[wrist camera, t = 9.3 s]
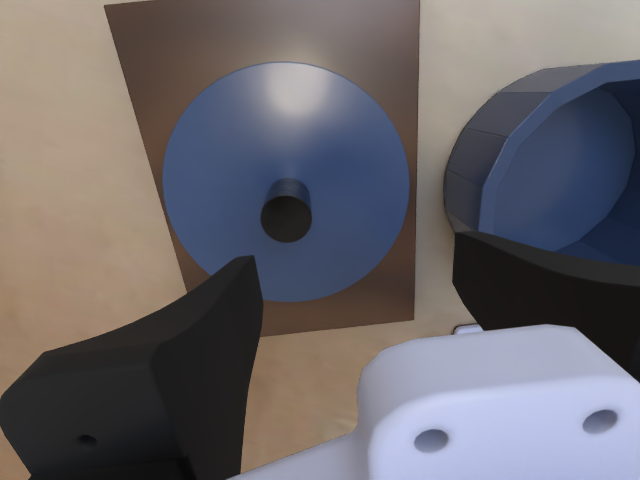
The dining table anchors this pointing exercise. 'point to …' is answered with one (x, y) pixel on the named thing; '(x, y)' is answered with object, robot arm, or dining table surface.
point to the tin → (555, 163)
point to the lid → (287, 179)
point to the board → (280, 46)
